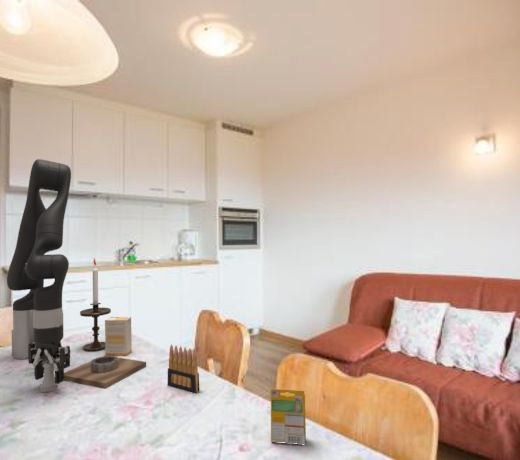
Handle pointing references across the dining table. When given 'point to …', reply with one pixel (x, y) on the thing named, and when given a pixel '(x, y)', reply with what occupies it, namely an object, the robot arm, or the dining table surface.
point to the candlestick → (95, 315)
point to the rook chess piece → (48, 378)
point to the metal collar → (104, 364)
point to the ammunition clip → (183, 370)
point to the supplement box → (118, 336)
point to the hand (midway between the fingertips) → (49, 380)
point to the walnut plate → (103, 379)
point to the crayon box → (288, 416)
